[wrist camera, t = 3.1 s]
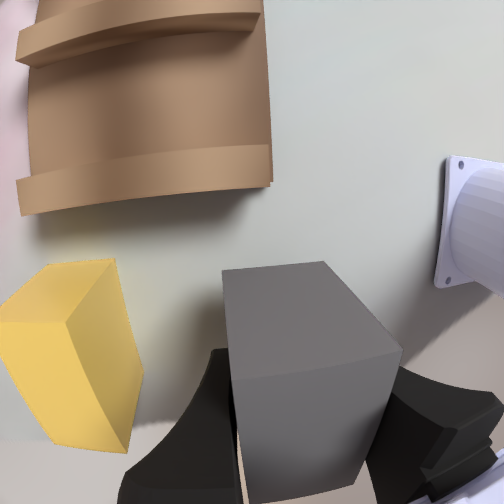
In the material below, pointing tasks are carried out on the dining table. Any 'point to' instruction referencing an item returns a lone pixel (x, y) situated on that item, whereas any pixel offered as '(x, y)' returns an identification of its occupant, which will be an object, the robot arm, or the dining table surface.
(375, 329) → the charcoal bar
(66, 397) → the ochre bar
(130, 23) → the comb rack
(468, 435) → the robot arm
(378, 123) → the dining table surface
